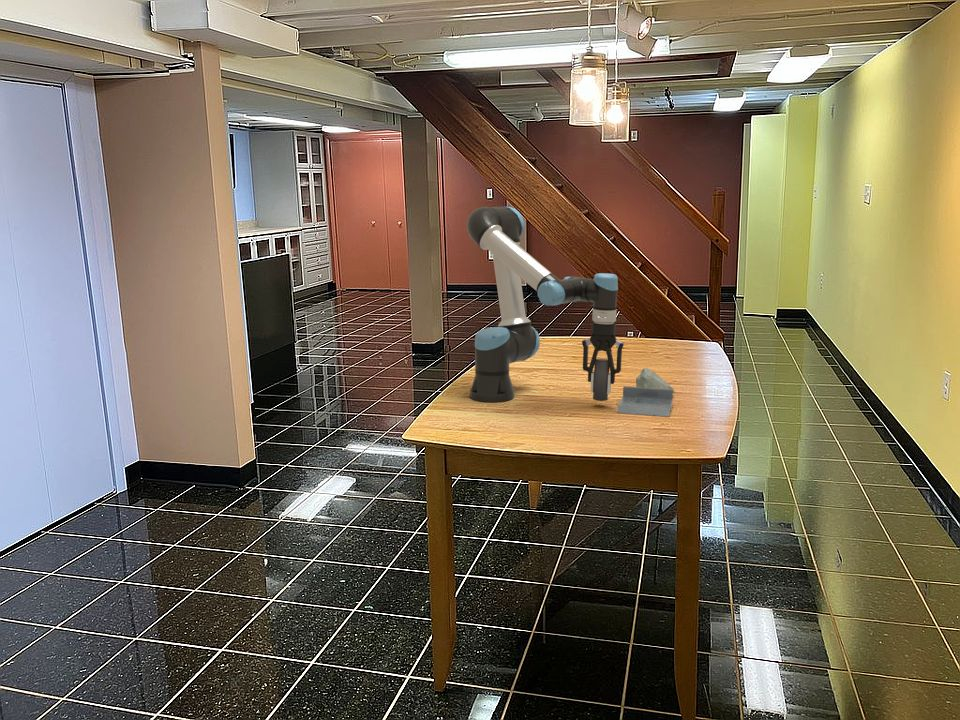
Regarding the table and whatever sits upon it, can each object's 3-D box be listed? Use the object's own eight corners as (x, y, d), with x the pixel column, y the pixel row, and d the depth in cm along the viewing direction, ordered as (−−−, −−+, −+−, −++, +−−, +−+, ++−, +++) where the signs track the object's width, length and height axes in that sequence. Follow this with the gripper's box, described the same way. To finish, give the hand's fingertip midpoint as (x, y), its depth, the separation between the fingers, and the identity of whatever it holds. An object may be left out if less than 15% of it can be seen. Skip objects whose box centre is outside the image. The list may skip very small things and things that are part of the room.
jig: (617, 412, 258) (618, 396, 257) (623, 402, 271) (623, 386, 270) (668, 416, 253) (669, 399, 252) (672, 405, 266) (673, 389, 265)
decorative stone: (627, 396, 279) (641, 376, 272) (633, 379, 287) (647, 359, 281) (660, 415, 278) (675, 396, 272) (665, 397, 287) (680, 378, 280)
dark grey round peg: (591, 400, 264) (593, 361, 261) (594, 396, 268) (596, 358, 265) (606, 401, 262) (608, 362, 259) (608, 397, 267) (610, 359, 264)
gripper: (574, 322, 259) (571, 392, 264) (630, 325, 254) (626, 397, 259) (578, 318, 266) (575, 387, 271) (633, 322, 261) (629, 392, 266)
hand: (600, 392), depth 265 cm, fingers closed on dark grey round peg, 5 cm apart
